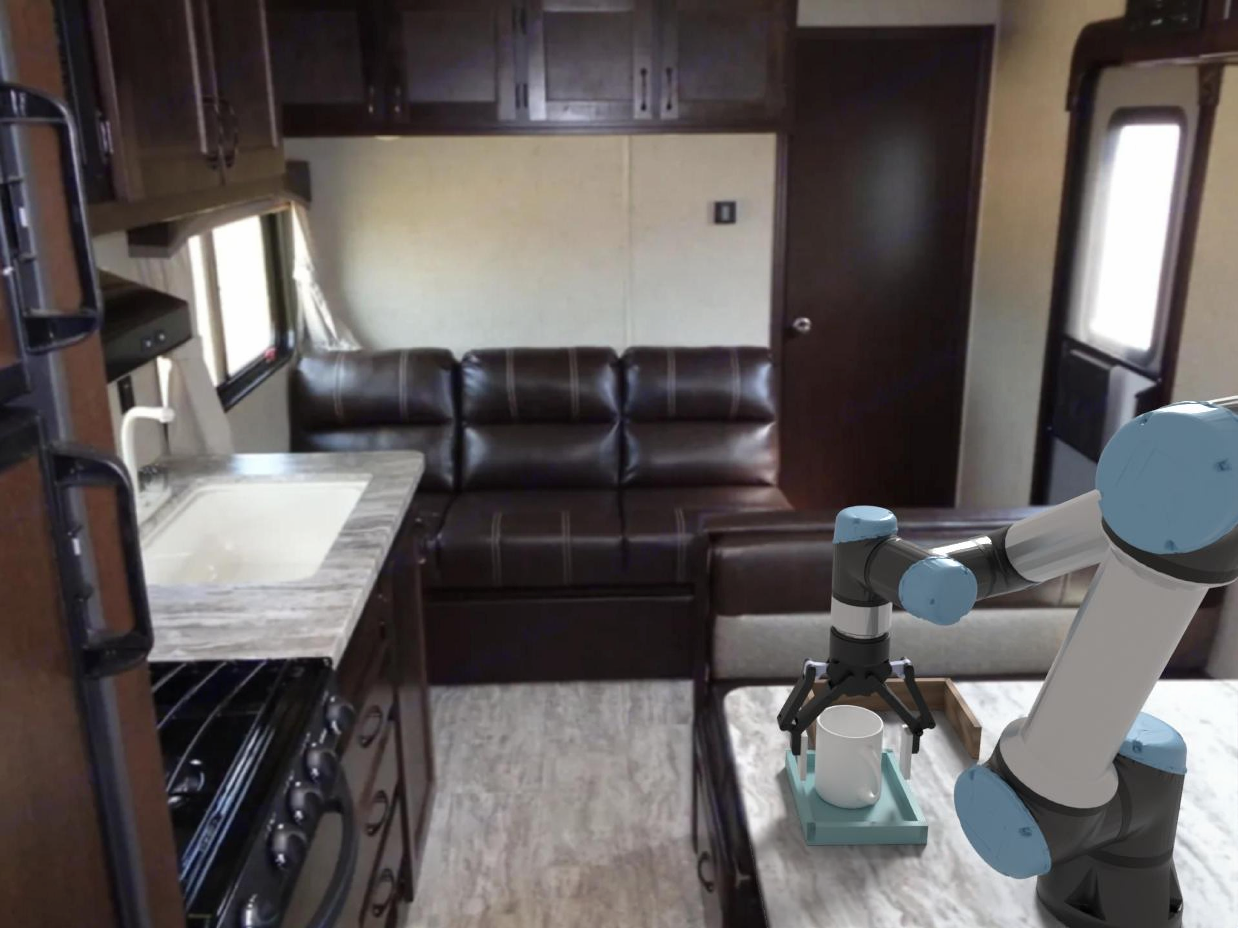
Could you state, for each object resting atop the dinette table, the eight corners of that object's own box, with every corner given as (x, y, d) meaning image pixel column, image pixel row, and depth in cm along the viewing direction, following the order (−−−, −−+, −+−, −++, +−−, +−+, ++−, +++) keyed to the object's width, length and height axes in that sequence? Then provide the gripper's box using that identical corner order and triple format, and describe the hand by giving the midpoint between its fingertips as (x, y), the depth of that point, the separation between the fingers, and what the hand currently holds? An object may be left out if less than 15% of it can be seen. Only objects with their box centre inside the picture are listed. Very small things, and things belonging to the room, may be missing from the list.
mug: (848, 831, 131) (852, 756, 128) (802, 781, 142) (805, 711, 139) (906, 817, 134) (911, 743, 131) (857, 769, 145) (860, 700, 142)
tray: (927, 843, 130) (928, 825, 129) (807, 845, 130) (807, 826, 129) (890, 764, 147) (891, 748, 146) (785, 766, 147) (785, 750, 146)
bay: (979, 758, 148) (981, 726, 147) (818, 760, 148) (819, 728, 147) (947, 706, 163) (949, 677, 161) (801, 708, 163) (802, 679, 162)
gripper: (949, 613, 135) (938, 757, 141) (758, 616, 135) (755, 760, 141) (968, 638, 128) (956, 789, 133) (766, 640, 128) (762, 791, 134)
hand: (853, 774), depth 137 cm, fingers open, 13 cm apart
